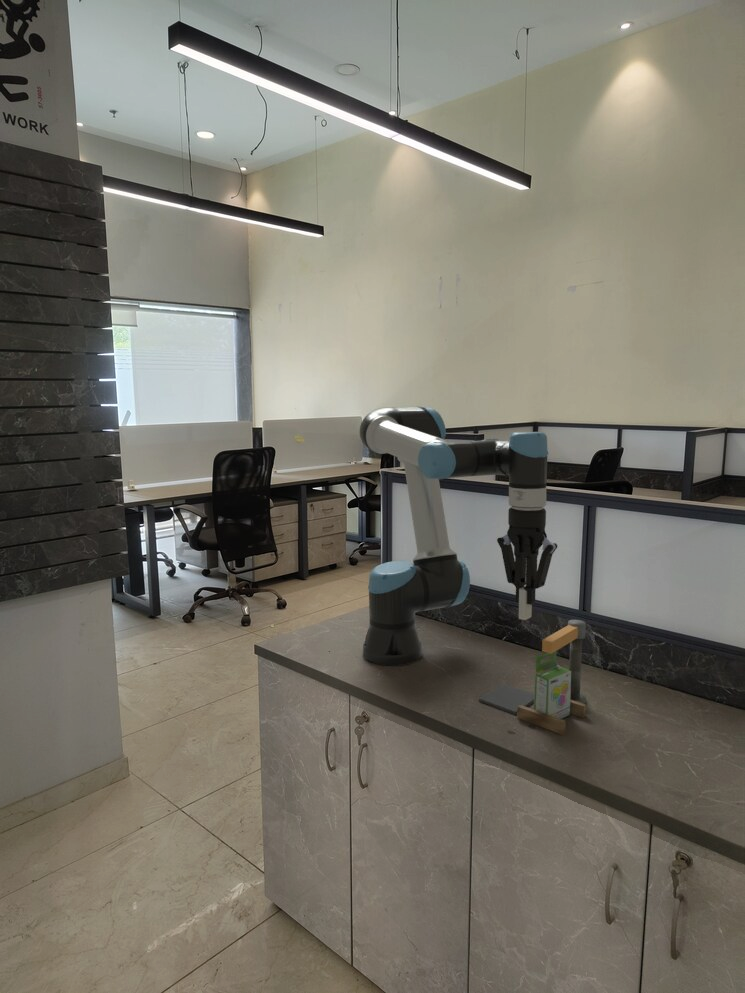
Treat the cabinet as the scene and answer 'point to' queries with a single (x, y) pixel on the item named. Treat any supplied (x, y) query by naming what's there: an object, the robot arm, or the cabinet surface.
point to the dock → (575, 697)
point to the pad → (508, 698)
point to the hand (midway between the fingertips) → (525, 617)
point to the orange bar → (564, 636)
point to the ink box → (552, 687)
